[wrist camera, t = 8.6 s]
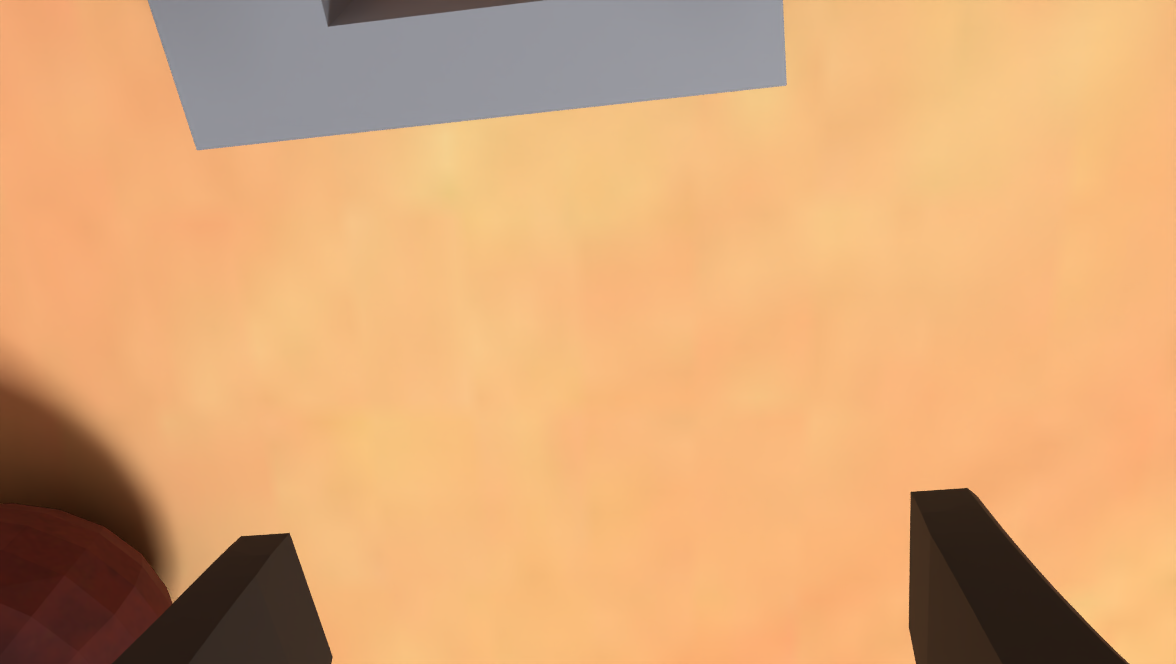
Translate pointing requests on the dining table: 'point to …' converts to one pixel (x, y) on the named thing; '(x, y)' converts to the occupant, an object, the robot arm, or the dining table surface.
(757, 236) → the dining table surface
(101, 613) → the potato
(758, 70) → the socket block
